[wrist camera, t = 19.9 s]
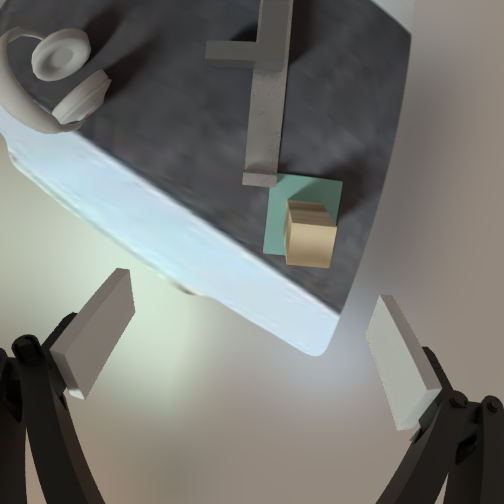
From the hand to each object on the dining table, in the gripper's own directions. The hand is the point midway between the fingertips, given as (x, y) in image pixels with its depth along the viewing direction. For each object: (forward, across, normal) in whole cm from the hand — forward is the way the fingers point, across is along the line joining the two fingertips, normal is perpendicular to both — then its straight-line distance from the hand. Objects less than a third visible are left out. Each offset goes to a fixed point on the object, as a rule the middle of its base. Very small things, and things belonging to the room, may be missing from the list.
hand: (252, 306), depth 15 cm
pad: (+29, +6, -4) cm, 30 cm away
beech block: (+28, +6, -4) cm, 29 cm away
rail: (+29, 0, +18) cm, 34 cm away
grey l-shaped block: (+28, -3, +24) cm, 37 cm away
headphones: (+29, -28, +16) cm, 43 cm away
